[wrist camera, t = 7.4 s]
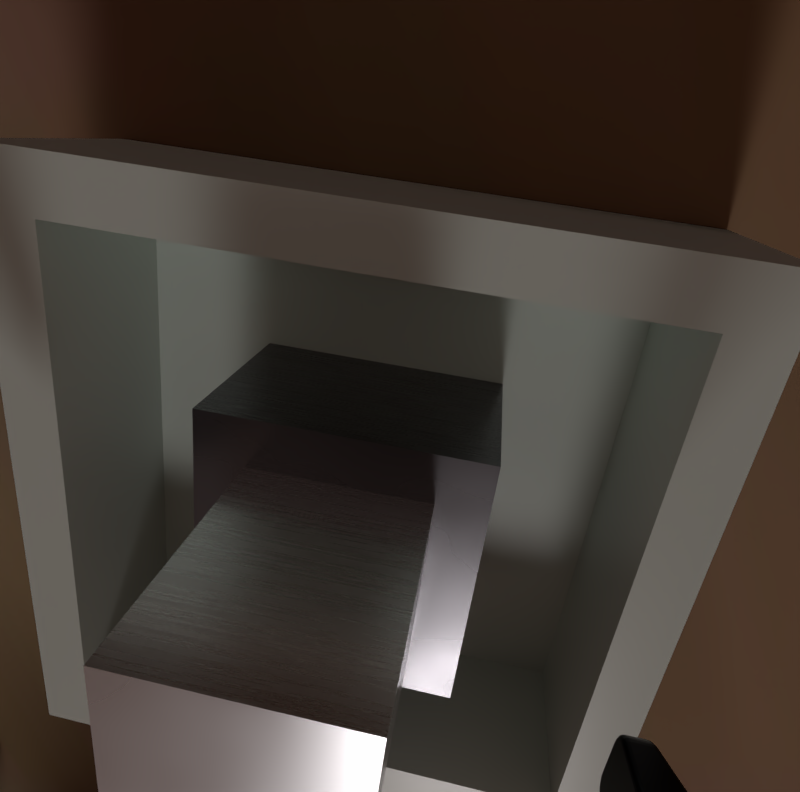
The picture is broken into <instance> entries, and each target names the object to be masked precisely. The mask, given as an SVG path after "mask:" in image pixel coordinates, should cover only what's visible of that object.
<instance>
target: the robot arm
mask: <svg viewBox="0 0 800 792" xmlns="http://www.w3.org/2000/svg"><path fill="white" fill-rule="evenodd" d="M599 792H687V791H686V789H685V788H684V786H683V785H682V783H681V782H680V780H679V779H678V777H677V776H676V774H675V773H674V772H673V770H672V769H671V767H670V766H669V764H668V763H667V761H666V760H665V758H664V757H663V755H662V754H661V752H660V751H659V749H658V748H657V747H656V746H655V745H654V744H653V743H652V742H651V741H649V740H646V739H642V738H637V737H633V736H629V735H620V736H619V737H617V739H616V741H615V743H614V745H613V748H612V750H611V753H610V755H609V758H608V760H607V763H606V765H605V768H604V770H603V773H602V776H601V781H600V791H599Z"/></svg>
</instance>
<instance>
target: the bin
mask: <svg viewBox="0 0 800 792" xmlns="http://www.w3.org/2000/svg"><path fill="white" fill-rule="evenodd" d="M269 343H273V344H278V345H284V346H290V347H295V348H301V349H307V350H312V351H318V352H324V353H330V354H335V355H341V356H347V357H352V358H358V359H364V360H369V361H375V362H381V363H387V364H392V365H398V366H404V367H409V368H415V369H421V370H427V371H432V372H438V373H444V374H449V375H455V376H461V377H466V378H472V379H478V380H484V381H489V382H495V383H501V384H503V398H502V440H501V469H500V473H499V478H498V482H497V487H496V491H495V496H494V500H493V505H492V509H491V514H490V519H489V523H488V528H487V532H486V537H485V541H484V546H483V550H482V555H481V560H480V564H479V569H478V573H477V578H476V582H475V587H474V591H473V596H472V601H471V605H470V610H469V614H468V619H467V623H466V628H465V632H464V637H463V642H462V646H461V651H460V655H459V660H458V664H457V669H456V673H455V678H454V683H453V687H452V692H451V696H450V698H447V697H443V696H439V695H434V694H430V693H426V692H421V691H417V690H413V689H408V688H404V687H402V689H401V695H400V700H399V705H398V710H397V715H396V720H395V725H394V730H393V736H392V741H391V746H390V751H389V756H388V761H387V766H386V771H385V777H384V782H383V787H382V792H599V791H600V781H601V776H602V773H603V770H604V768H605V765H606V763H607V760H608V758H609V755H610V753H611V750H612V748H613V745H614V743H615V741H616V739H617V737H619V736H620V735H629V736H633V737H638V735H639V733H640V730H641V728H642V725H643V723H644V721H645V718H646V716H647V713H648V711H649V709H650V706H651V704H652V702H653V699H654V697H655V694H656V692H657V690H658V687H659V685H660V682H661V680H662V678H663V675H664V673H665V671H666V668H667V666H668V663H669V661H670V659H671V656H672V654H673V651H674V649H675V647H676V644H677V642H678V640H679V637H680V635H681V632H682V630H683V628H684V625H685V623H686V620H687V618H688V616H689V613H690V611H691V609H692V606H693V604H694V601H695V599H696V597H697V594H698V592H699V589H700V587H701V585H702V582H703V580H704V577H705V575H706V573H707V570H708V568H709V566H710V563H711V561H712V558H713V556H714V554H715V551H716V549H717V546H718V544H719V542H720V539H721V537H722V535H723V532H724V530H725V527H726V525H727V523H728V520H729V518H730V515H731V513H732V511H733V508H734V506H735V504H736V501H737V499H738V496H739V494H740V492H741V489H742V487H743V484H744V482H745V480H746V477H747V475H748V473H749V470H750V468H751V465H752V463H753V461H754V458H755V456H756V453H757V451H758V449H759V446H760V444H761V442H762V439H763V437H764V434H765V432H766V430H767V427H768V425H769V422H770V420H771V418H772V415H773V413H774V411H775V408H776V406H777V403H778V401H779V399H780V396H781V394H782V391H783V389H784V387H785V384H786V382H787V380H788V377H789V375H790V372H791V370H792V368H793V365H794V363H795V360H796V358H797V356H798V353H799V351H800V259H799V258H796V257H794V256H791V255H789V254H786V253H784V252H781V251H779V250H776V249H774V248H771V247H769V246H766V245H764V244H762V243H759V242H757V241H754V240H752V239H749V238H747V237H744V236H742V235H739V234H737V233H734V232H732V231H729V230H725V229H719V228H712V227H705V226H699V225H692V224H686V223H679V222H672V221H666V220H659V219H652V218H646V217H639V216H632V215H626V214H619V213H613V212H606V211H599V210H593V209H586V208H579V207H573V206H566V205H559V204H553V203H546V202H540V201H533V200H526V199H520V198H513V197H506V196H500V195H493V194H486V193H480V192H473V191H466V190H460V189H453V188H447V187H440V186H433V185H427V184H420V183H413V182H407V181H400V180H393V179H387V178H380V177H374V176H367V175H360V174H354V173H347V172H340V171H334V170H327V169H320V168H314V167H307V166H300V165H294V164H287V163H281V162H274V161H267V160H261V159H254V158H247V157H241V156H234V155H227V154H221V153H214V152H208V151H201V150H194V149H188V148H181V147H174V146H168V145H161V144H154V143H148V142H141V141H134V140H128V139H80V138H0V386H1V393H2V399H3V406H4V413H5V420H6V426H7V433H8V440H9V447H10V453H11V460H12V467H13V473H14V480H15V487H16V494H17V500H18V507H19V514H20V520H21V527H22V534H23V541H24V547H25V554H26V561H27V568H28V574H29V581H30V588H31V594H32V601H33V608H34V615H35V621H36V628H37V635H38V641H39V648H40V655H41V662H42V668H43V675H44V682H45V689H46V695H47V702H48V709H49V715H53V716H57V717H61V718H65V719H69V720H73V721H77V722H81V723H85V724H89V725H90V718H89V709H88V701H87V692H86V684H85V675H84V667H83V665H84V664H85V663H86V662H87V661H88V659H89V658H90V657H91V656H92V654H93V653H94V652H95V651H96V649H97V648H98V647H99V646H100V645H101V643H102V642H103V641H104V640H105V638H106V637H107V636H108V635H109V633H110V632H111V631H112V630H113V628H114V627H115V626H116V625H117V624H118V622H119V621H120V620H121V619H122V617H123V616H124V615H125V614H126V612H127V611H128V610H129V609H130V608H131V606H132V605H133V604H134V603H135V601H136V600H137V599H138V598H139V596H140V595H141V594H142V593H143V591H144V590H145V589H146V588H147V587H148V585H149V584H150V583H151V582H152V580H153V579H154V578H155V577H156V575H157V574H158V573H159V572H160V570H161V569H162V568H163V567H164V566H165V564H166V563H167V562H168V561H169V559H170V558H171V557H172V556H173V554H174V553H175V552H176V551H177V550H178V548H179V547H180V546H181V545H182V543H183V542H184V541H185V540H186V538H187V537H188V536H189V535H190V533H191V532H192V531H193V530H194V482H193V420H192V408H193V407H195V406H196V405H197V404H198V403H199V402H201V401H202V400H203V399H204V398H205V397H206V396H208V395H209V394H210V393H211V392H212V391H214V390H215V389H216V388H217V387H218V386H220V385H221V384H222V383H223V382H224V381H225V380H227V379H228V378H229V377H230V376H231V375H233V374H234V373H235V372H236V371H237V370H238V369H240V368H241V367H242V366H243V365H244V364H246V363H247V362H248V361H249V360H250V359H251V358H253V357H254V356H255V355H256V354H257V353H259V352H260V351H261V350H262V349H263V348H264V347H266V346H267V345H268V344H269Z"/></svg>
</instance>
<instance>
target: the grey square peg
mask: <svg viewBox="0 0 800 792" xmlns="http://www.w3.org/2000/svg"><path fill="white" fill-rule="evenodd" d="M502 398H503V384H501V383H495V382H489V381H484V380H478V379H472V378H466V377H461V376H455V375H449V374H444V373H438V372H432V371H427V370H421V369H415V368H409V367H404V366H398V365H392V364H387V363H381V362H375V361H369V360H364V359H358V358H352V357H347V356H341V355H335V354H330V353H324V352H318V351H312V350H307V349H301V348H295V347H290V346H284V345H278V344H273V343H269V344H268V345H267V346H266V347H264V348H263V349H262V350H261V351H260V352H259V353H257V354H256V355H255V356H254V357H253V358H251V359H250V360H249V361H248V362H247V363H246V364H244V365H243V366H242V367H241V368H240V369H238V370H237V371H236V372H235V373H234V374H233V375H231V376H230V377H229V378H228V379H227V380H225V381H224V382H223V383H222V384H221V385H220V386H218V387H217V388H216V389H215V390H214V391H212V392H211V393H210V394H209V395H208V396H206V397H205V398H204V399H203V400H202V401H201V402H199V403H198V404H197V405H196V406H195V407H193V408H192V420H193V482H194V530H193V531H192V532H191V533H190V535H189V536H188V537H187V538H186V540H185V541H184V542H183V543H182V545H181V546H180V547H179V548H178V550H177V551H176V552H175V553H174V554H173V556H172V557H171V558H170V559H169V561H168V562H167V563H166V564H165V566H164V567H163V568H162V569H161V570H160V572H159V573H158V574H157V575H156V577H155V578H154V579H153V580H152V582H151V583H150V584H149V585H148V587H147V588H146V589H145V590H144V591H143V593H142V594H141V595H140V596H139V598H138V599H137V600H136V601H135V603H134V604H133V605H132V606H131V608H130V609H129V610H128V611H127V612H126V614H125V615H124V616H123V617H122V619H121V620H120V621H119V622H118V624H117V625H116V626H115V627H114V628H113V630H112V631H111V632H110V633H109V635H108V636H107V637H106V638H105V640H104V641H103V642H102V643H101V645H100V646H99V647H98V648H97V649H96V651H95V652H94V653H93V654H92V656H91V657H90V658H89V659H88V661H87V662H86V663H85V664H84V665H83V667H84V675H85V684H86V692H87V701H88V709H89V718H90V726H91V734H92V743H93V751H94V760H95V768H96V777H97V785H98V792H382V787H383V782H384V777H385V771H386V766H387V761H388V756H389V751H390V746H391V741H392V736H393V730H394V725H395V720H396V715H397V710H398V705H399V700H400V695H401V689H402V687H404V688H408V689H413V690H417V691H421V692H426V693H430V694H434V695H439V696H443V697H447V698H450V696H451V692H452V687H453V683H454V678H455V673H456V669H457V664H458V660H459V655H460V651H461V646H462V642H463V637H464V632H465V628H466V623H467V619H468V614H469V610H470V605H471V601H472V596H473V591H474V587H475V582H476V578H477V573H478V569H479V564H480V560H481V555H482V550H483V546H484V541H485V537H486V532H487V528H488V523H489V519H490V514H491V509H492V505H493V500H494V496H495V491H496V487H497V482H498V478H499V473H500V469H501V440H502Z"/></svg>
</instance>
